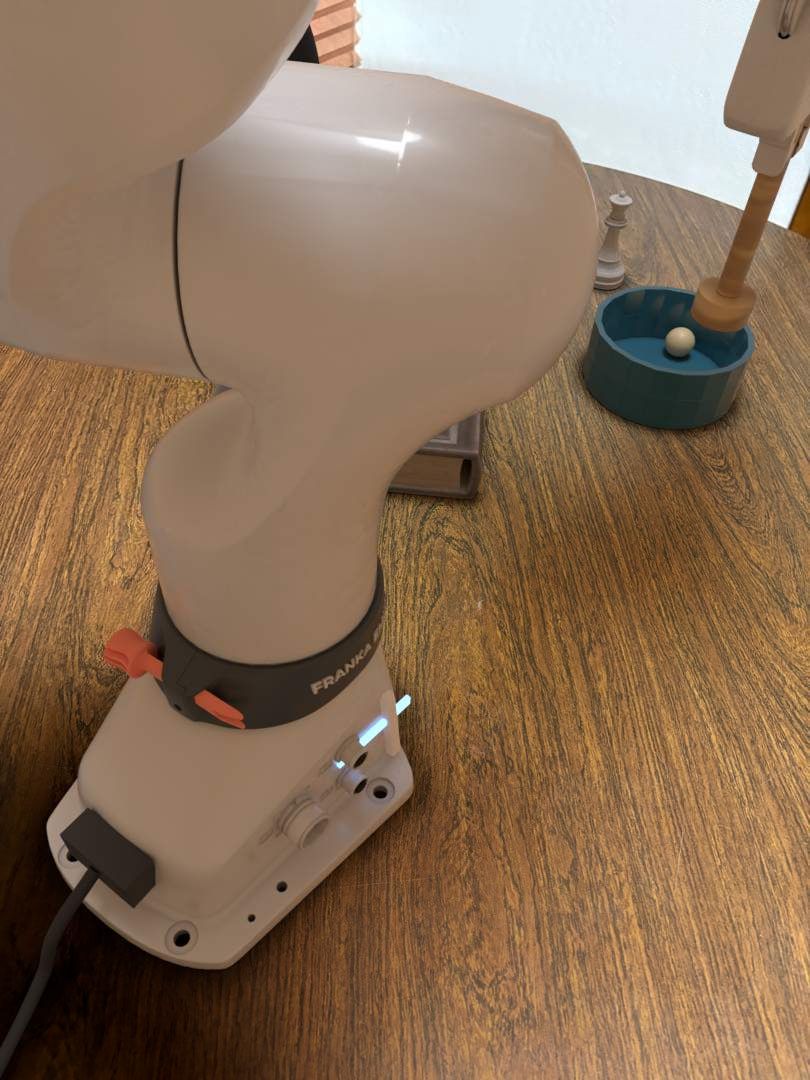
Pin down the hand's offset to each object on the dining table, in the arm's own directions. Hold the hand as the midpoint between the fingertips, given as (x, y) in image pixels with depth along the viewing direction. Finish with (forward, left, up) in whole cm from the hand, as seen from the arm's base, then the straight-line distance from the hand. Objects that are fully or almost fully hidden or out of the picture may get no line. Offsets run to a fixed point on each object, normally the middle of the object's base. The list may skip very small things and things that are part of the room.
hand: (775, 161), depth 53 cm
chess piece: (+26, +17, -27) cm, 42 cm away
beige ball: (+17, +5, -25) cm, 30 cm away
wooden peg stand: (0, 0, -11) cm, 11 cm away
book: (-4, +28, -27) cm, 39 cm away
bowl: (+12, +5, -27) cm, 30 cm away
